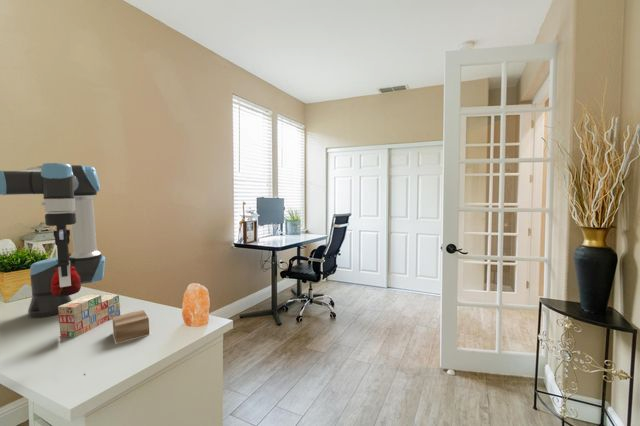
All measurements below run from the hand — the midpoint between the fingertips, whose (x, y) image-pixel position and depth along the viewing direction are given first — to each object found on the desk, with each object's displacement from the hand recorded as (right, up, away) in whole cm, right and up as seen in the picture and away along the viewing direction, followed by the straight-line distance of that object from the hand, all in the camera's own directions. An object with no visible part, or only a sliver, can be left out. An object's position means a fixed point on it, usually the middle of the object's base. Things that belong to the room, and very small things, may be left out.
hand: (65, 283), depth 100 cm
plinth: (+14, -21, +13) cm, 28 cm away
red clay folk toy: (0, -4, 0) cm, 4 cm away
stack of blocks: (-7, -22, +21) cm, 32 cm away
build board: (+12, -22, +12) cm, 28 cm away
